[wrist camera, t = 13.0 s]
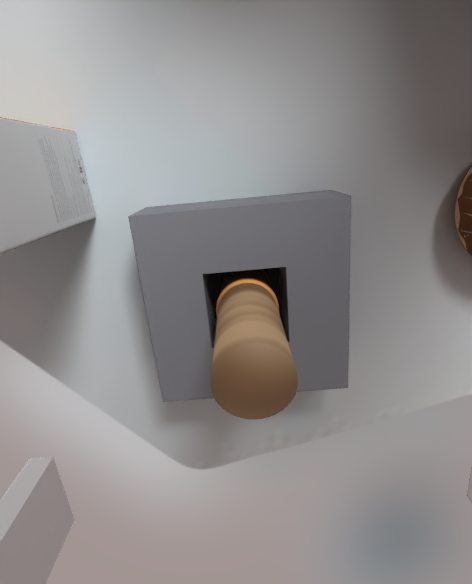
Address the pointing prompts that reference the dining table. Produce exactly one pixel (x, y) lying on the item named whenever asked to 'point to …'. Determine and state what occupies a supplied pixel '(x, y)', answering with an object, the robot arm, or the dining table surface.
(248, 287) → the oak peg
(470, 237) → the donut
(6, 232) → the small box
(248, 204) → the socket block
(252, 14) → the dining table surface
